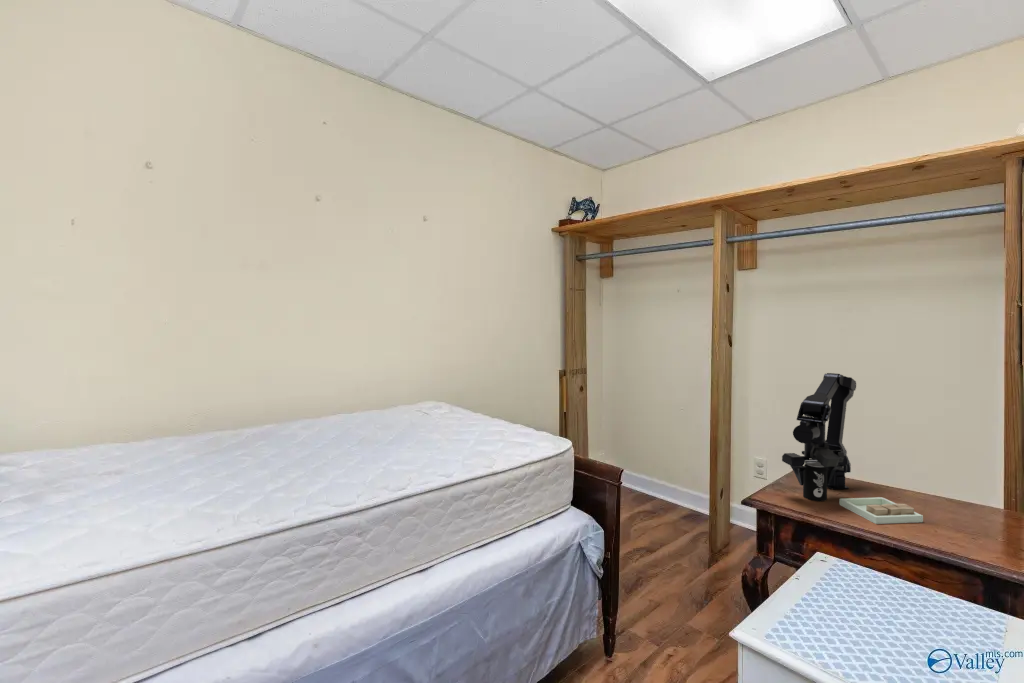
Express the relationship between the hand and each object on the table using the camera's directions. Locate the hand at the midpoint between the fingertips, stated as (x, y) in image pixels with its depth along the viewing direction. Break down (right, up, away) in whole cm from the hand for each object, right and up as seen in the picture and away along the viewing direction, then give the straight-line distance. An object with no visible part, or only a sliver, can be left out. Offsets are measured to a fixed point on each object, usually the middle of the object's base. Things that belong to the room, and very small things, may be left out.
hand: (814, 484), depth 153 cm
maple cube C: (+16, -5, -16) cm, 23 cm away
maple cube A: (+8, -5, -16) cm, 19 cm away
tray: (+12, -5, -12) cm, 18 cm away
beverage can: (0, -5, 0) cm, 5 cm away
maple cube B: (+12, -5, -16) cm, 21 cm away
